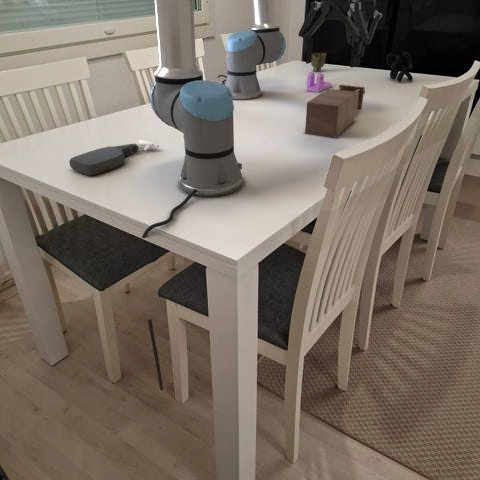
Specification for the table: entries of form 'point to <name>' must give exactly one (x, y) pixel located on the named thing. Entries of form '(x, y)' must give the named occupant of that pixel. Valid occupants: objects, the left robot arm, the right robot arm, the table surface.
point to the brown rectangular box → (330, 112)
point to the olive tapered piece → (318, 61)
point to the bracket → (317, 82)
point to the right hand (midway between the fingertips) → (356, 66)
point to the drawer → (359, 96)
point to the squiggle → (399, 66)
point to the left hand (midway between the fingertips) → (330, 64)
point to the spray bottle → (106, 157)
